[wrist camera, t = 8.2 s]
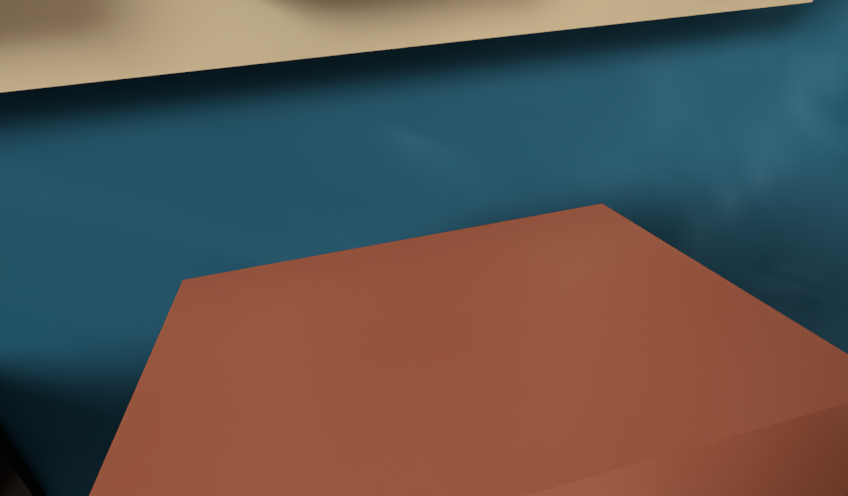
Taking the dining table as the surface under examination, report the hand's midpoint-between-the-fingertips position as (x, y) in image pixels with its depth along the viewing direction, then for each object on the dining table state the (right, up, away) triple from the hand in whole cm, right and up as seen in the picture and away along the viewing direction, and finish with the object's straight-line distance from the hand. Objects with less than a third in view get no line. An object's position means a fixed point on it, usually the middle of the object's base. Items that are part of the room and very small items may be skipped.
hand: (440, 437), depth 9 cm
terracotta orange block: (0, 0, +1) cm, 1 cm away
